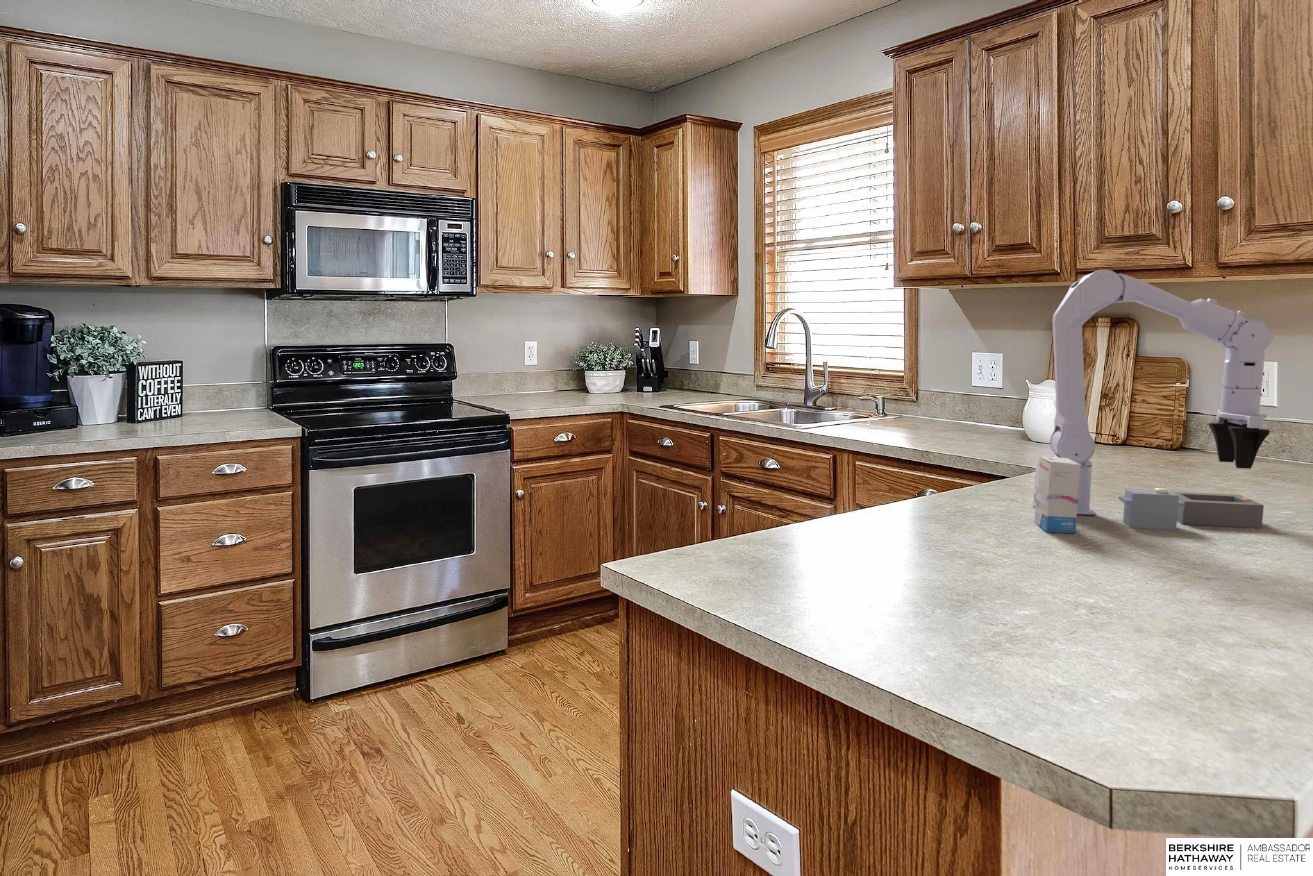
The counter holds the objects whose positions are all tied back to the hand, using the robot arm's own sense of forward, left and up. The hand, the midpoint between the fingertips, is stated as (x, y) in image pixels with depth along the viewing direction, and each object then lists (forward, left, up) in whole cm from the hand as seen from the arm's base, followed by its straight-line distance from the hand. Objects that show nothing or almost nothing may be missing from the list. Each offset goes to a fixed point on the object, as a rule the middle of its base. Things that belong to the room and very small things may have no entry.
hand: (1234, 465), depth 150 cm
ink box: (-31, -15, -10) cm, 36 cm away
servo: (-15, -9, -10) cm, 20 cm away
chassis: (-3, -1, -10) cm, 10 cm away
